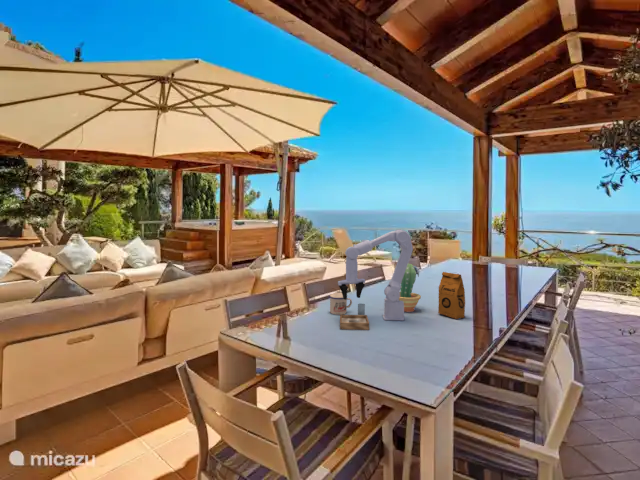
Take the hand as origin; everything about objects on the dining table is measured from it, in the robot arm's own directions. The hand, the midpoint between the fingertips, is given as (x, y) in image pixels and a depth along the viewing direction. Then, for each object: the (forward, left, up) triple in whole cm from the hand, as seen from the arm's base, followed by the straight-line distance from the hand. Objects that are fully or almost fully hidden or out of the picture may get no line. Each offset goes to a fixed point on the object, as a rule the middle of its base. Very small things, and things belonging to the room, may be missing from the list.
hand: (351, 298), depth 183 cm
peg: (-5, 0, -10) cm, 11 cm away
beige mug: (+5, -10, -10) cm, 15 cm away
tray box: (-1, +12, -10) cm, 15 cm away
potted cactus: (-30, -18, -10) cm, 36 cm away
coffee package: (-51, -7, -10) cm, 52 cm away
